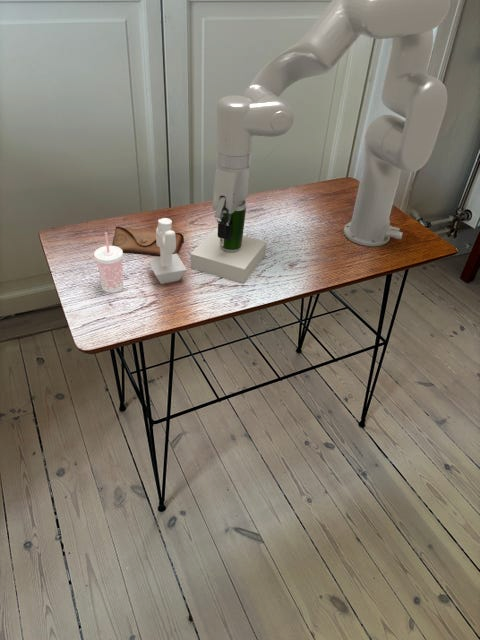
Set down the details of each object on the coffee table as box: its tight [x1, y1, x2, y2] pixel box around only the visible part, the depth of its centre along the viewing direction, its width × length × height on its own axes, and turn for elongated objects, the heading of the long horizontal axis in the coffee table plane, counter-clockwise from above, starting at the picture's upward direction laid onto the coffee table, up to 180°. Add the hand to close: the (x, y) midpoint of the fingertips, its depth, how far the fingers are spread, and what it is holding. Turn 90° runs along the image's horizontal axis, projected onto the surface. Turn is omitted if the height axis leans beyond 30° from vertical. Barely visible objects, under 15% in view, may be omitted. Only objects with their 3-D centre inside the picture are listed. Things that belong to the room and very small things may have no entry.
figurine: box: [147, 217, 187, 285], centre depth 116 cm, size 7×9×15 cm
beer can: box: [220, 200, 247, 252], centre depth 121 cm, size 5×5×12 cm
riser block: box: [189, 227, 267, 284], centre depth 126 cm, size 14×14×4 cm
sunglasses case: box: [111, 226, 185, 257], centre depth 130 cm, size 18×7×7 cm, turn 85°
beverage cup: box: [93, 231, 124, 294], centre depth 112 cm, size 6×6×14 cm
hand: (230, 231), depth 122 cm, fingers open, 6 cm apart
